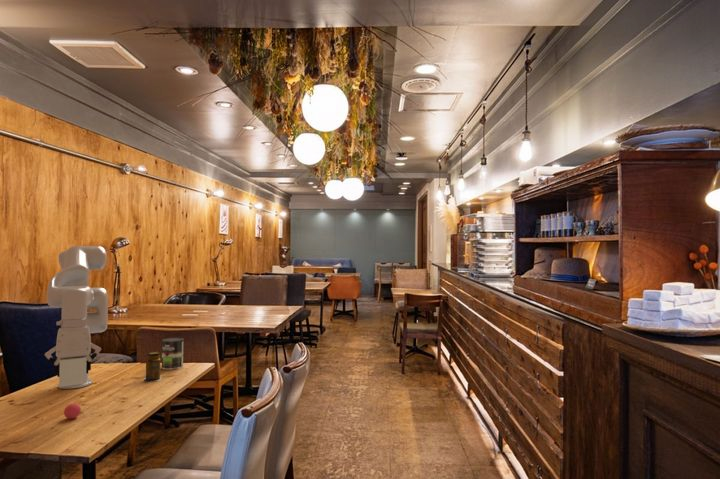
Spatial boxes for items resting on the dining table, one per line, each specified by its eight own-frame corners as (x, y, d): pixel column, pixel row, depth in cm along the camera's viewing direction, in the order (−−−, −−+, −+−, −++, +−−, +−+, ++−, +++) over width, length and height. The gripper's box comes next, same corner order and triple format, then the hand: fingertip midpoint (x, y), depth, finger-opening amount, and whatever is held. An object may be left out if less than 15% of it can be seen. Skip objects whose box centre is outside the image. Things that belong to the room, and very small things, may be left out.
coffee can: (176, 370, 221) (176, 341, 221) (157, 369, 222) (157, 340, 223) (187, 365, 231) (187, 337, 231) (169, 364, 233) (169, 337, 233)
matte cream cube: (60, 381, 156) (60, 355, 157) (86, 377, 160) (86, 353, 161) (59, 386, 150) (59, 360, 150) (86, 383, 154) (86, 357, 154)
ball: (63, 415, 152) (63, 422, 155) (80, 412, 155) (80, 420, 158) (64, 402, 155) (64, 409, 158) (81, 399, 158) (81, 407, 161)
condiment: (160, 376, 210) (161, 350, 210) (161, 381, 202) (162, 354, 203) (143, 378, 207) (144, 352, 207) (143, 383, 199) (144, 356, 199)
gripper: (42, 327, 148) (41, 380, 147) (103, 323, 157) (102, 373, 157) (44, 324, 154) (43, 375, 154) (102, 320, 163) (101, 368, 163)
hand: (73, 374), depth 155 cm, fingers closed on matte cream cube, 7 cm apart
